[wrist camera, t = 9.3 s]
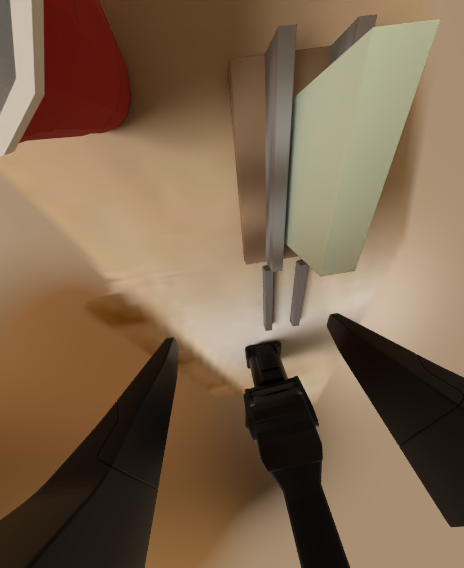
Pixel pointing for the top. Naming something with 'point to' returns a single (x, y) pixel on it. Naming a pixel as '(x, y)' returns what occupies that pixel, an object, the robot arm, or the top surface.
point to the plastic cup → (58, 71)
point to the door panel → (350, 142)
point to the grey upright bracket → (296, 299)
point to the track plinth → (273, 131)
